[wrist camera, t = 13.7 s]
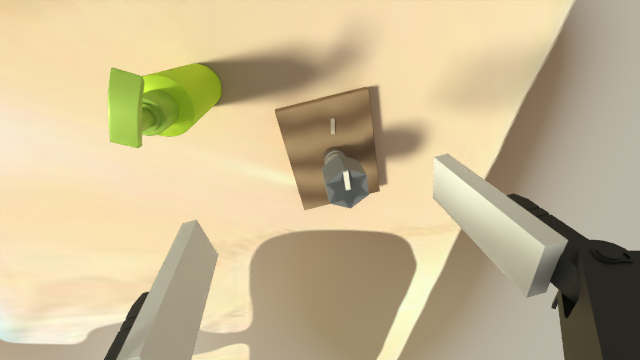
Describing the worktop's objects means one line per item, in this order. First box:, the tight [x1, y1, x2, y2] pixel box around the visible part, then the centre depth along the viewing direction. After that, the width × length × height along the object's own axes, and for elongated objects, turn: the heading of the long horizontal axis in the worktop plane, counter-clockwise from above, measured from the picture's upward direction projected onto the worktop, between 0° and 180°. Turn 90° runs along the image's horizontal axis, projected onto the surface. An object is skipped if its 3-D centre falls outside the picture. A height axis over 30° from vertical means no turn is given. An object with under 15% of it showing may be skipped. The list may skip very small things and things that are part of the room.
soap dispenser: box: [108, 64, 222, 148], centre depth 27 cm, size 6×7×20 cm
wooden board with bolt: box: [275, 87, 380, 210], centre depth 40 cm, size 18×14×8 cm
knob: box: [321, 155, 369, 208], centre depth 34 cm, size 6×5×5 cm
